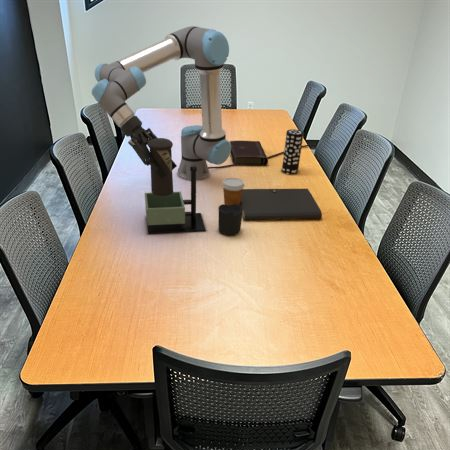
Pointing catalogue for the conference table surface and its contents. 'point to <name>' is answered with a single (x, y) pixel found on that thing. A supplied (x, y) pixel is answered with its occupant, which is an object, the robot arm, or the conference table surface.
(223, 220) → the pen holder
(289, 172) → the white-spotted black cylinder
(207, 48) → the robot arm
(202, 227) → the green box on stand
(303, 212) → the file folder
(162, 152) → the container
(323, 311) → the conference table surface
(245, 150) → the diary
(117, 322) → the conference table surface
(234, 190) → the disposable coffee cup
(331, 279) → the conference table surface
